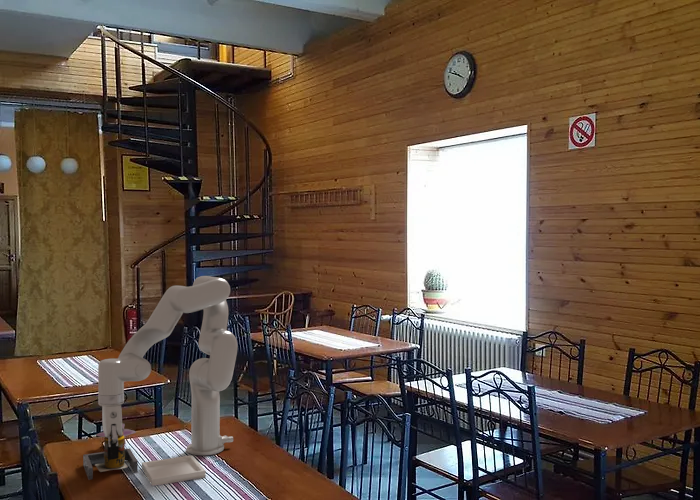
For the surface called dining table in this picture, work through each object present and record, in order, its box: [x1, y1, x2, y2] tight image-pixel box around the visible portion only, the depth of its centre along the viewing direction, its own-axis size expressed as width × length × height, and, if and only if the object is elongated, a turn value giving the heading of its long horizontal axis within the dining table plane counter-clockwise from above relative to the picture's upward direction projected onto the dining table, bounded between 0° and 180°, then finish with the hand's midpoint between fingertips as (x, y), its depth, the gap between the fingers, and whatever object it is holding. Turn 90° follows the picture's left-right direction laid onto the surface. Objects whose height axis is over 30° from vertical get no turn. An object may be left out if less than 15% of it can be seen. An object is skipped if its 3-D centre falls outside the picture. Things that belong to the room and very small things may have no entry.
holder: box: [82, 447, 139, 481], centre depth 212 cm, size 14×14×4 cm
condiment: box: [94, 428, 129, 473], centre depth 211 cm, size 7×8×12 cm
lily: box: [95, 423, 137, 444], centre depth 233 cm, size 12×12×10 cm
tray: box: [141, 454, 207, 487], centre depth 209 cm, size 16×16×2 cm
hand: (111, 455), depth 211 cm, fingers closed on condiment, 6 cm apart
